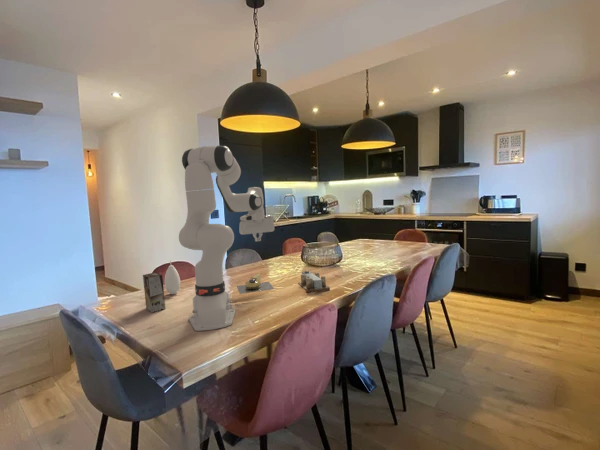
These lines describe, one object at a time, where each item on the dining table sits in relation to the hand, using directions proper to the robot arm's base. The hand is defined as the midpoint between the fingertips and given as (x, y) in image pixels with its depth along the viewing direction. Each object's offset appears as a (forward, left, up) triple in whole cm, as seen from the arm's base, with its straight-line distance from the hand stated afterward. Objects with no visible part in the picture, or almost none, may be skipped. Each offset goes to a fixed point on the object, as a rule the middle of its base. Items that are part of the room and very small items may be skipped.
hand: (258, 241), depth 181 cm
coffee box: (-19, +53, -25) cm, 61 cm away
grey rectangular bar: (-18, -24, -23) cm, 38 cm away
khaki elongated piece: (-5, +4, -23) cm, 24 cm away
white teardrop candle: (+3, +47, -25) cm, 53 cm away
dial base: (-9, +6, -25) cm, 27 cm away
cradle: (-21, -24, -25) cm, 40 cm away
